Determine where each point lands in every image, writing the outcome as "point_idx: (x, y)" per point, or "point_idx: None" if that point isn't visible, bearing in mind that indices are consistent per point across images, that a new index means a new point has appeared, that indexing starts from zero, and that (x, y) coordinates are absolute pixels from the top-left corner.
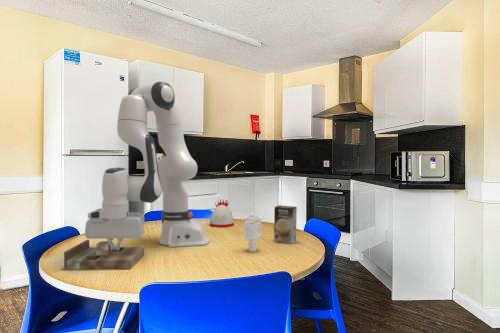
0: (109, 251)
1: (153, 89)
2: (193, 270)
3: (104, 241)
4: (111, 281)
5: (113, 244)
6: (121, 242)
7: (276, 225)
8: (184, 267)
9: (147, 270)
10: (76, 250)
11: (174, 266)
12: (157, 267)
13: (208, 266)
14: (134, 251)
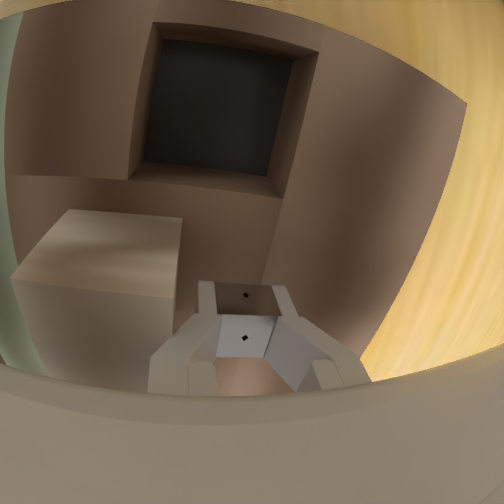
0: (176, 290)
1: None
2: (463, 352)
3: (65, 295)
4: None
5: (219, 325)
6: (327, 337)
7: None
8: (465, 334)
9: (373, 367)
10: None
11: (453, 327)
12: (413, 340)
13: (497, 323)
14: (393, 238)
